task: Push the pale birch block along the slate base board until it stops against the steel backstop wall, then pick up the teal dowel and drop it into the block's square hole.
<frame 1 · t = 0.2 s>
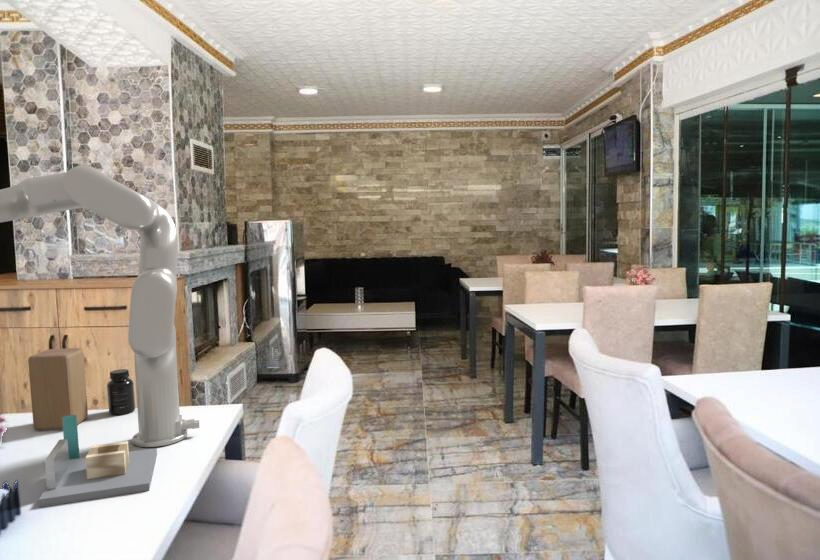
birch block: (108, 459, 123), point 4 cm above the table, slide at 0.0 cm
supplement bottle: (122, 412, 169), on the table
base board: (104, 478, 123), on the table
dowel: (72, 459, 134), on the table
backstop wall: (59, 484, 121), resting on base board
wooden block: (61, 425, 159), on the table
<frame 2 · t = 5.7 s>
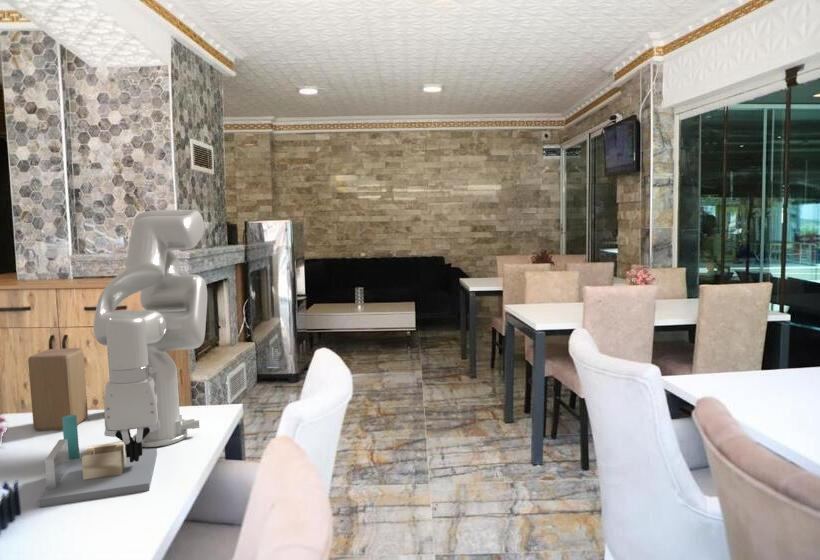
hand: (134, 459, 125), 3 cm above the table, fingers closed
birch block: (104, 460, 123), point 4 cm above the table, slide at 0.7 cm, touching gripper
everything else where it was.
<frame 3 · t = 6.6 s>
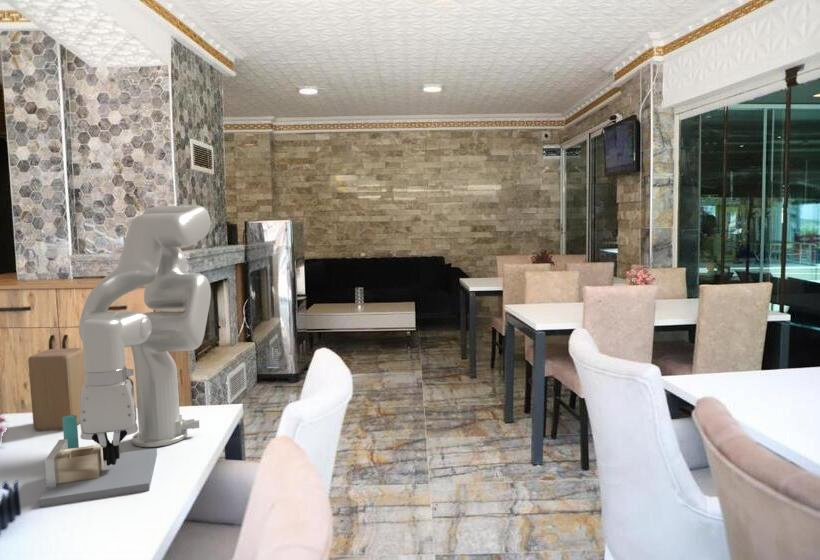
hand: (111, 462, 124), 3 cm above the table, fingers closed
birch block: (81, 463, 122), point 4 cm above the table, slide at 5.0 cm, touching backstop wall, gripper
everything else where it was.
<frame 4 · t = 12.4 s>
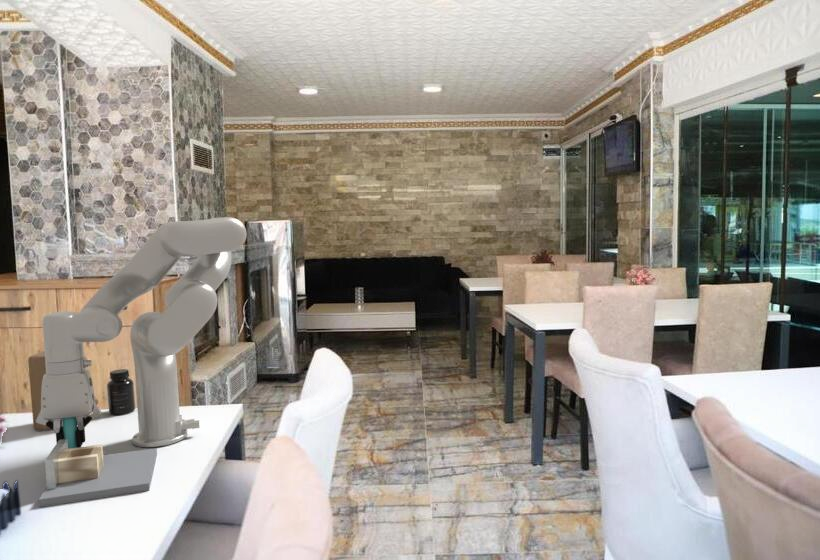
hand: (71, 446, 133), 3 cm above the table, fingers closed on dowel, 2 cm apart
birch block: (81, 463, 122), point 4 cm above the table, slide at 5.0 cm
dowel: (72, 459, 134), on the table, touching gripper
everything else where it was.
when the fingers open (7 cm above the table, at t = 17.1 s): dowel drops 2 cm, resting on base board.
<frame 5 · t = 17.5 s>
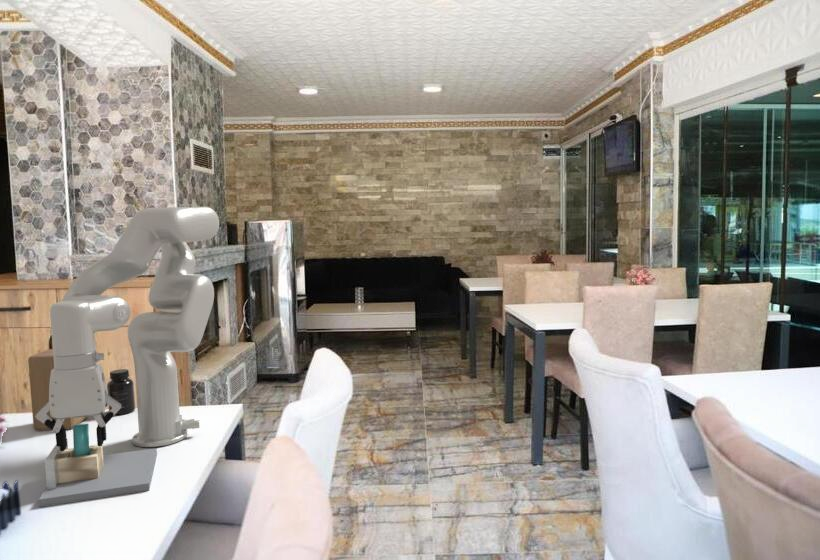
hand: (82, 445, 122), 7 cm above the table, fingers open, 6 cm apart
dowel: (82, 473, 122), point 2 cm above the table, tilted 6°, touching base board
everything else where it was.
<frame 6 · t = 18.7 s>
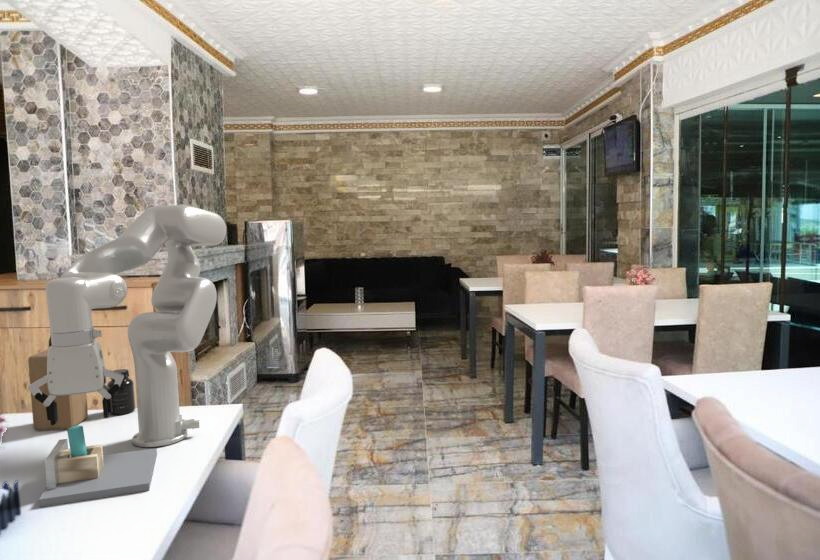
hand: (81, 419, 122), 13 cm above the table, fingers open, 9 cm apart
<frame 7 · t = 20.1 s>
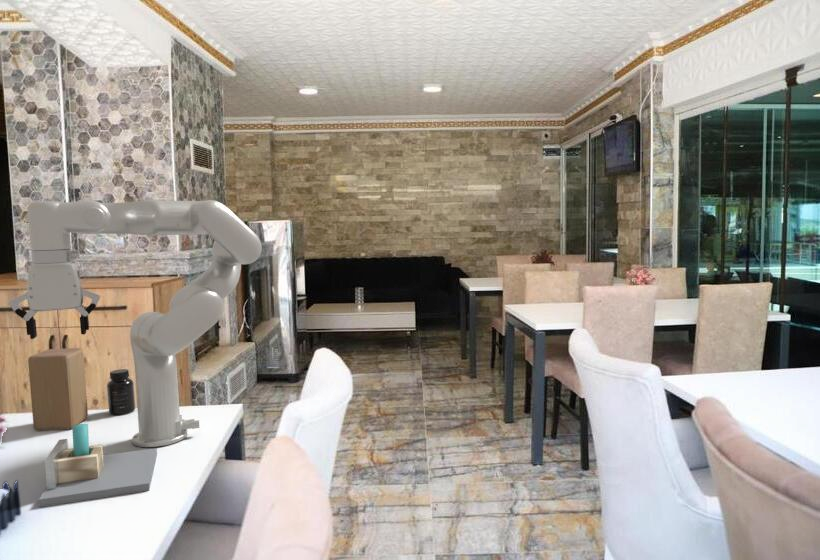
hand: (59, 335, 130), 29 cm above the table, fingers open, 9 cm apart
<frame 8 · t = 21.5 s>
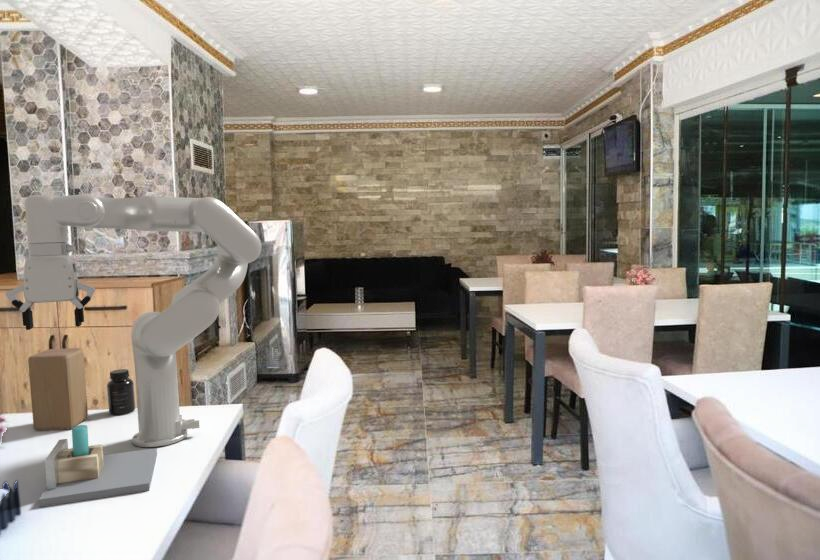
hand: (54, 327, 132), 30 cm above the table, fingers open, 9 cm apart
at the end: birch block slide at 5.0 cm; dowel 0.0 cm from the target spot, point 1.6 cm above the table; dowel tilted 5° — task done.
